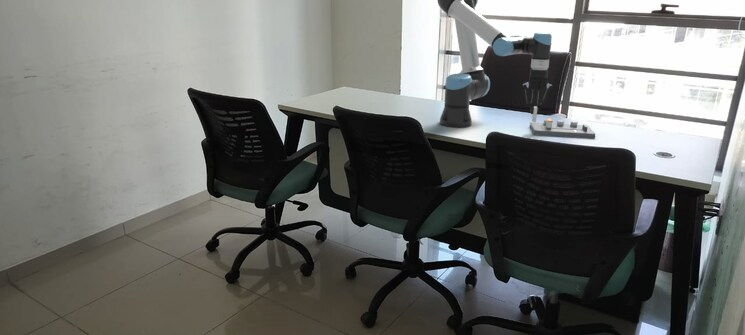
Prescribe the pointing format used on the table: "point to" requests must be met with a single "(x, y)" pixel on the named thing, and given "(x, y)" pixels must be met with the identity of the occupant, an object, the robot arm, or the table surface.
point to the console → (562, 129)
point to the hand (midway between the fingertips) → (533, 121)
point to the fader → (549, 123)
